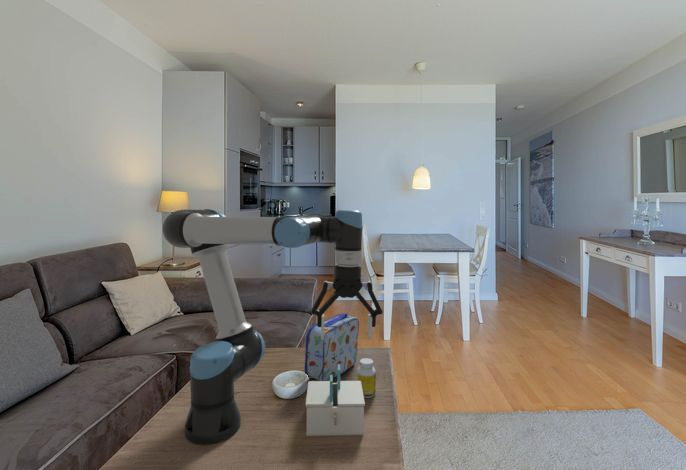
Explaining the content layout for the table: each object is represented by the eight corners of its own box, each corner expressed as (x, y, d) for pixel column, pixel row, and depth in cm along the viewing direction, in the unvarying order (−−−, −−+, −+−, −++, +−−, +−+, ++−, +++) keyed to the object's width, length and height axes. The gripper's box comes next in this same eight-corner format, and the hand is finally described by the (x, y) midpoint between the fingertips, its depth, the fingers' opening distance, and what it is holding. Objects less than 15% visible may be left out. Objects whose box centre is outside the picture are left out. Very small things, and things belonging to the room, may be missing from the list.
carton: (305, 440, 96) (306, 412, 95) (309, 407, 112) (309, 383, 111) (364, 440, 96) (364, 412, 96) (359, 406, 112) (359, 382, 112)
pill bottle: (374, 399, 117) (375, 366, 116) (355, 397, 118) (355, 364, 117) (376, 390, 123) (377, 358, 122) (358, 388, 124) (358, 356, 124)
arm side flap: (305, 406, 98) (305, 383, 97) (308, 383, 111) (308, 362, 110) (332, 406, 98) (333, 383, 97) (332, 383, 111) (332, 362, 111)
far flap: (360, 382, 111) (361, 362, 111) (364, 406, 98) (365, 383, 98) (336, 383, 111) (337, 362, 111) (337, 406, 98) (338, 383, 98)
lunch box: (340, 356, 151) (341, 306, 150) (361, 361, 146) (362, 310, 144) (301, 382, 128) (301, 323, 126) (324, 390, 123) (325, 328, 121)
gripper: (303, 266, 95) (302, 342, 96) (394, 267, 96) (391, 342, 98) (304, 262, 102) (303, 333, 104) (388, 263, 104) (386, 332, 105)
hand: (346, 337), depth 101 cm, fingers open, 13 cm apart
